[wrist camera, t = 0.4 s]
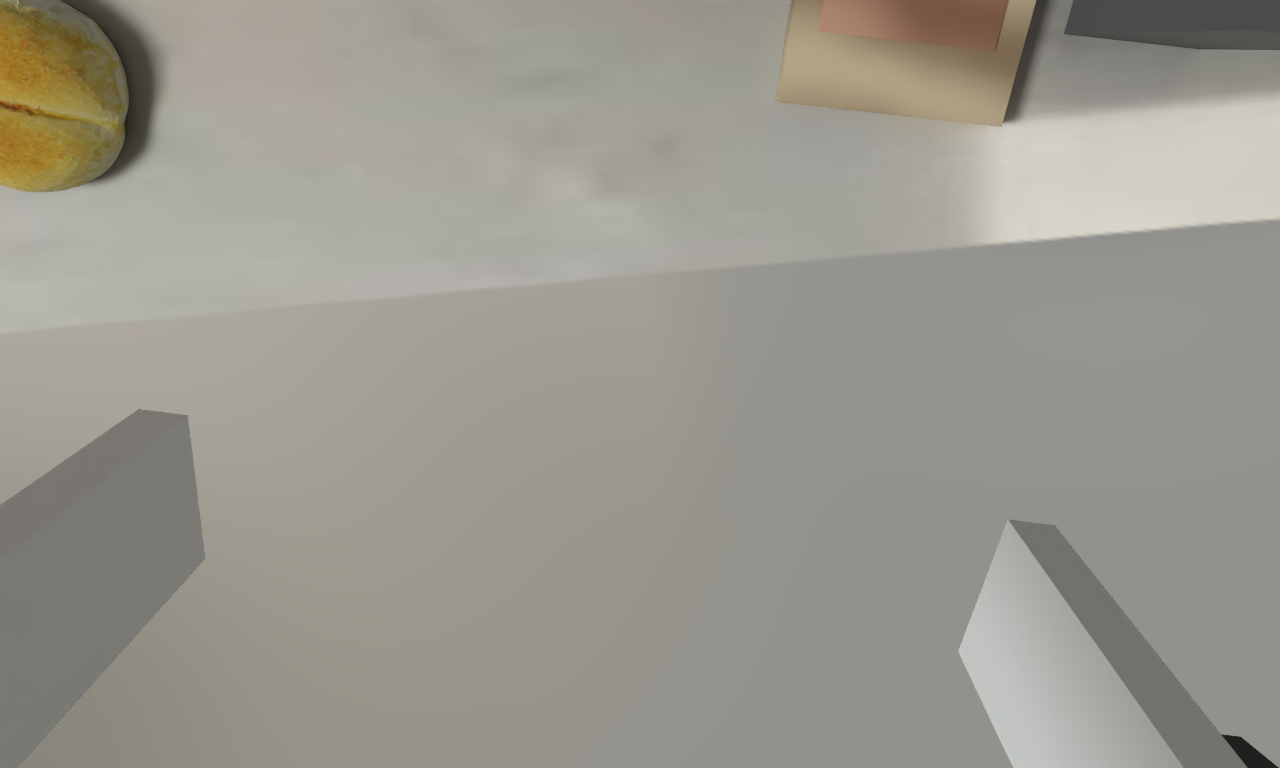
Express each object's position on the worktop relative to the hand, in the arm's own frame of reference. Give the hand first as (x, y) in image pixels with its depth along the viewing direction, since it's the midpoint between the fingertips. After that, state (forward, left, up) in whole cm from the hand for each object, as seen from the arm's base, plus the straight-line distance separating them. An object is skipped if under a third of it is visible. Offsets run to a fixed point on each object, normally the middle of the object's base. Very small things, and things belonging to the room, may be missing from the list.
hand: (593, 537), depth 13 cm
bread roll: (-3, -28, -28) cm, 40 cm away
